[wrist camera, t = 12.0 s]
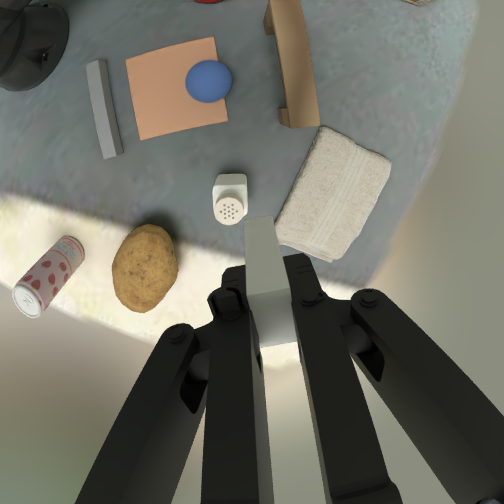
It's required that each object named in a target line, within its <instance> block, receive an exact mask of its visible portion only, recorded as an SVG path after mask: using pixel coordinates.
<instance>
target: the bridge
mask: <svg viewBox="0 0 504 504" xmlns="http://www.w3.org/2000/svg"><path fill="white" fill-rule="evenodd" d="M263 22H264V27H265V33H266V34H275V39H276V44H277V50H278V56H279V62H280V68H281V74H282V81H283V87H284V94H285V101H286V108H278V114H279V121H280V124H283V125H285V126H287V127H289V128H300V127H311V126H320V120H319V111H318V103H317V95H316V88H315V81H314V74H313V67H312V61H311V55H310V49H309V43H308V38H307V32H306V27H305V22H304V17H303V12H302V7H301V2H300V0H269V2H268V6H267V10H266V13H265V17H264V21H263Z"/></svg>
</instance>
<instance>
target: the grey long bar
mask: <svg viewBox="0 0 504 504" xmlns="http://www.w3.org/2000/svg"><path fill="white" fill-rule="evenodd" d="M86 72H87V79H88V85H89V92H90V97H91V103H92V108H93V114H94V119H95V123H96V128H97V133H98V137H99V142H100V146H101V150H102V154H103V158H104V160H105V159H108V158H111V157H115V156H117V155H119V154H122V153H123V149H122V144H121V140H120V136H119V131H118V126H117V122H116V117H115V112H114V106H113V101H112V96H111V90H110V84H109V78H108V72H107V65H106V61H103V60H99V59H98V60H95V61H93V62H91V63H88V64H86Z"/></svg>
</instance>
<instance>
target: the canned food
mask: <svg viewBox="0 0 504 504" xmlns="http://www.w3.org/2000/svg"><path fill="white" fill-rule="evenodd" d="M195 1H198V2H202V3H215V2H219V1H222V0H195Z"/></svg>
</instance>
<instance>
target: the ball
mask: <svg viewBox="0 0 504 504" xmlns="http://www.w3.org/2000/svg"><path fill="white" fill-rule="evenodd" d="M231 85H232V76H231V73H230V71H229V69H228V68H227V67H226V66H225V65H224V64H222V63H220V62H218V61H215V60H205V61H201V62H199V63H197V64H195V65H194V66H193V67H192V68H191V69H190V70H189V71H188V73H187V75H186V79H185V86H186V89H187V92H188V93H189V95H190V96H191V97H192V98H193V99H195V100H197V101H199V102H203V103H213V102H216V101H219V100H220V99H222V98H223V97H225V96H226V95H227V93H228V92H229V90H230V88H231Z"/></svg>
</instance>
